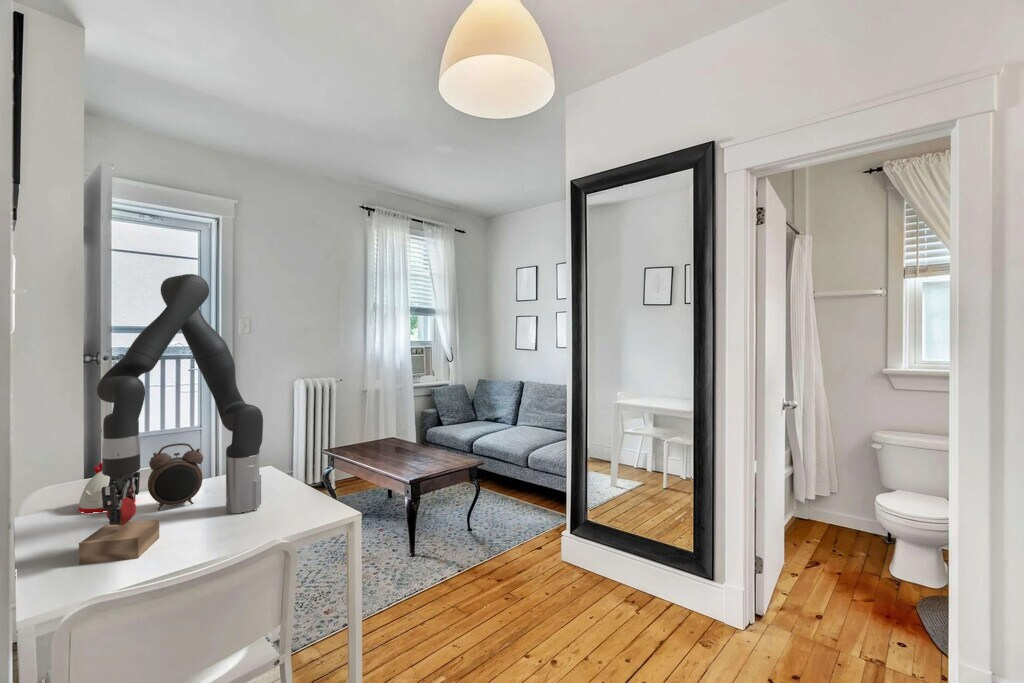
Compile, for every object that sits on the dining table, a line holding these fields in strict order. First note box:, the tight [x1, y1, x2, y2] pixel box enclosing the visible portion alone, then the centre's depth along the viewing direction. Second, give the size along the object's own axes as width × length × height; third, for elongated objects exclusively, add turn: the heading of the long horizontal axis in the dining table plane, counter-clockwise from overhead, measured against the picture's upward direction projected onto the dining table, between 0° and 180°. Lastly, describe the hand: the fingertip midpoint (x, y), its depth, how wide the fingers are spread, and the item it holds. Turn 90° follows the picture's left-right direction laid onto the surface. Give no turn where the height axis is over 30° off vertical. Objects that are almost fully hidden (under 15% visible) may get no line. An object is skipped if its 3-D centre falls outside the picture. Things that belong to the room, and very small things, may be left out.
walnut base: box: [78, 519, 160, 565], centre depth 121 cm, size 12×12×5 cm
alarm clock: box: [147, 442, 204, 511], centre depth 152 cm, size 15×7×20 cm, turn 129°
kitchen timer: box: [78, 462, 137, 513], centre depth 152 cm, size 14×14×15 cm
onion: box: [105, 495, 137, 526], centre depth 121 cm, size 6×6×8 cm
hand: (122, 519), depth 121 cm, fingers closed on onion, 6 cm apart
